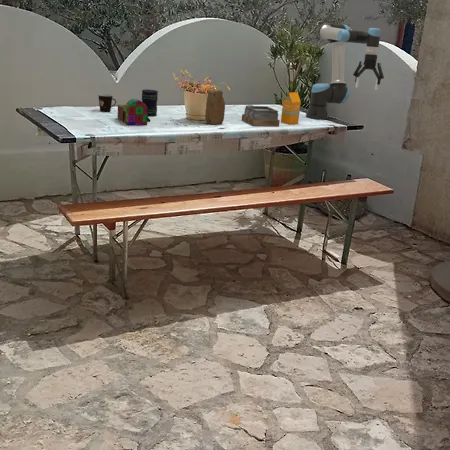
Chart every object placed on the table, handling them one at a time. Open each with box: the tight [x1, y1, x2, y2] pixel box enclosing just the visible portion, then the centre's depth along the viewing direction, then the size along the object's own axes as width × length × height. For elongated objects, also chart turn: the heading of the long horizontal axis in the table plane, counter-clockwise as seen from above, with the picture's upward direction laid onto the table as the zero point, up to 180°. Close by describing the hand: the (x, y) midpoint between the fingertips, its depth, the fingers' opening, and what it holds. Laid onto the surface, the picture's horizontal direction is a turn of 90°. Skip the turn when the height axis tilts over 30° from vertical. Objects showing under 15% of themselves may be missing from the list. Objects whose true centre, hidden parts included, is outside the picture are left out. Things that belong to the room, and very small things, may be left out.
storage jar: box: [141, 89, 159, 118], centre depth 370 cm, size 10×10×15 cm
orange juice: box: [280, 91, 302, 125], centre depth 386 cm, size 8×9×20 cm
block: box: [204, 89, 226, 125], centre depth 362 cm, size 11×8×20 cm
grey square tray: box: [241, 105, 281, 127], centre depth 378 cm, size 18×18×10 cm
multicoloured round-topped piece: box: [116, 98, 151, 127], centre depth 349 cm, size 25×17×14 cm
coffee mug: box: [98, 93, 117, 113], centre depth 368 cm, size 12×9×10 cm
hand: (366, 88), depth 379 cm, fingers open, 13 cm apart
